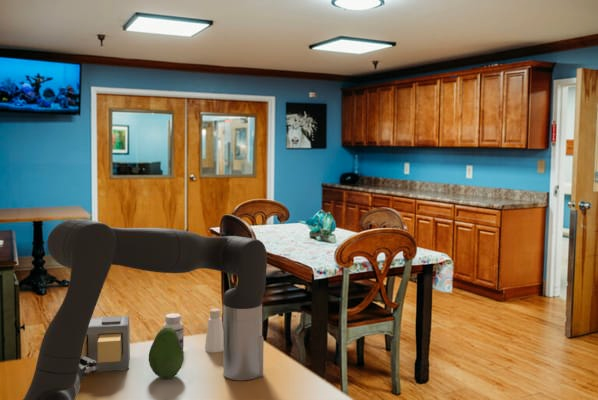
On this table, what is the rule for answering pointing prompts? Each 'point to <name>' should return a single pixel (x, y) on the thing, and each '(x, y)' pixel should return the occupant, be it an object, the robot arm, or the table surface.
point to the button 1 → (85, 347)
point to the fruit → (166, 354)
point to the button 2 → (109, 347)
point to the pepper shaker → (214, 332)
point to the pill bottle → (175, 325)
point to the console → (109, 326)
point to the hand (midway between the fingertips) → (72, 354)
